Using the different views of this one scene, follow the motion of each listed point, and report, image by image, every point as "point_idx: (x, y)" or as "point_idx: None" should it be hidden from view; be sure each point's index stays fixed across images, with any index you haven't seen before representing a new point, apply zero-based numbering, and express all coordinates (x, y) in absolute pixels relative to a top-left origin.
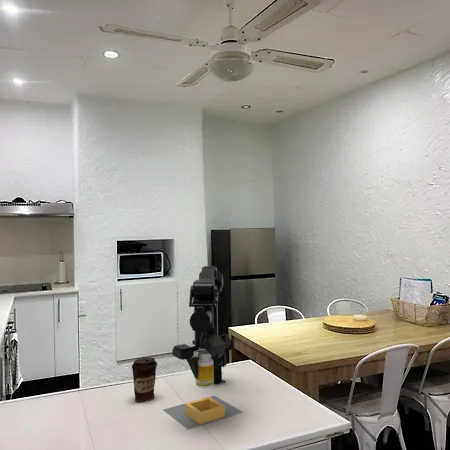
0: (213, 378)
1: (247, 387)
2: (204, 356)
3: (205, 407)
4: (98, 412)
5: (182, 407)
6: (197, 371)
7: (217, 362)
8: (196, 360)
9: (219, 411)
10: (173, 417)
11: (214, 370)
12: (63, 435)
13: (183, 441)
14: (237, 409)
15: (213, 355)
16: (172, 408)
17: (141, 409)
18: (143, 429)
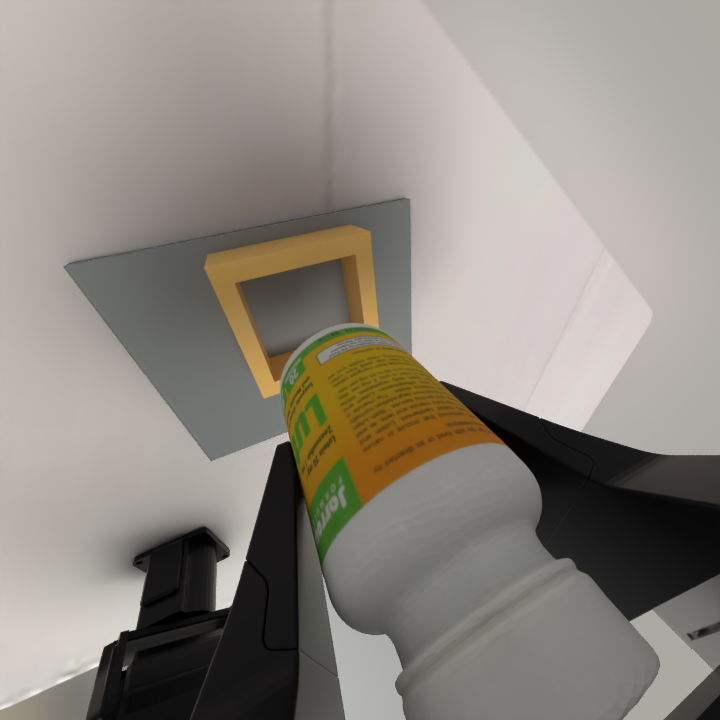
0: (300, 387)
1: (6, 538)
2: (605, 617)
3: (283, 358)
4: (510, 402)
5: None
6: (486, 412)
7: (253, 582)
8: (707, 479)
9: (243, 253)
10: (408, 323)
11: (282, 475)
12: (599, 320)
13: (456, 114)
14: (105, 311)
15: (322, 718)
16: None
17: None
18: (495, 286)
